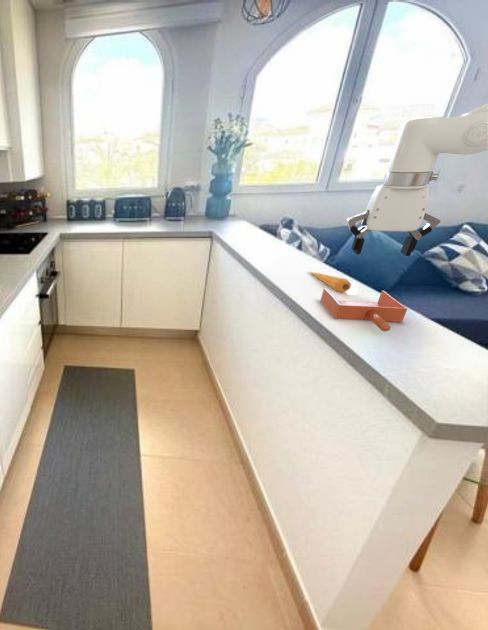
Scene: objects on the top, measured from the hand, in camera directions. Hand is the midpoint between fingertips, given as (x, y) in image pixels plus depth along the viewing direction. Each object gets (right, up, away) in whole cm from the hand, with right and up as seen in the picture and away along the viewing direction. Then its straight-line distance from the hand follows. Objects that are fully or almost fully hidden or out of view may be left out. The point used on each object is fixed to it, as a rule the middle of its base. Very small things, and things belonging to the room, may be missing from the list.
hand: (380, 253), depth 85 cm
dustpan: (+5, -16, +10) cm, 20 cm away
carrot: (+12, -4, +34) cm, 37 cm away
